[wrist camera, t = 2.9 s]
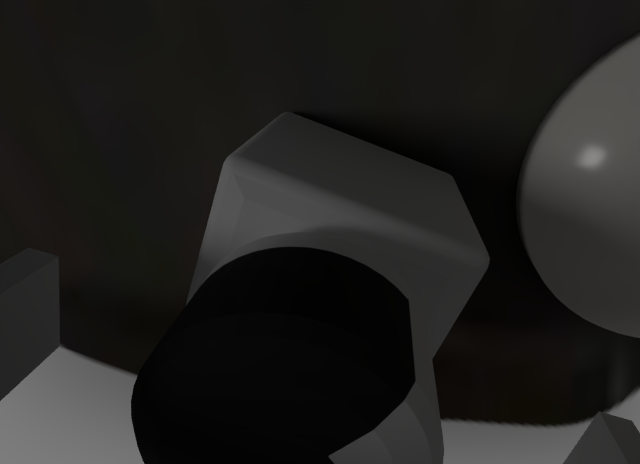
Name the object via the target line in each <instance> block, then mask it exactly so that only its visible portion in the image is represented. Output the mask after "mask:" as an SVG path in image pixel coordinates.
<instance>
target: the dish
mask: <svg viewBox="0 0 640 464" xmlns="http://www.w3.org/2000/svg"><path fill="white" fill-rule="evenodd" d="M516 218H517V225H518V229H519V234H520V238H521V241H522V243H523V246H524V248H525V251H526V253H527V255H528V257H529V259H530V260H531V262H532V264H533V265H534V267H535V269H536V270H537V272H538V274H539V275H540V277H541V278H542V280H543V282H544V283H545V284H546V286H547V287H548V288H549V289H550V290H551V292H552V293H553V294H554V295H555V297H556V298H558V299H559V300H560V301H561V302H562V303H563V304H564V305H565V306H567V307H568V308H569V309H570V310H572V311H573V312H575V313H576V314H578V315H579V316H581V317H582V318H584V319H585V320H587V321H589V322H591V323H594V324H596V325H598V326H600V327H602V328H605V329H608V330H611V331H613V332H616V333H619V334H623V335H628V336H632V337H637V338H640V31H638V32H637V33H635V34H633V35H632V36H630V37H628V38H627V39H625V40H623V41H622V42H620V43H618V44H617V45H615V46H614V47H612V48H611V49H609V50H608V51H607V52H606V53H604V54H603V55H602V56H600V57H599V58H598V59H596V60H595V61H594V62H592V63H591V64H590V65H589V66H588V67H587V68H586V69H585V70H583V71H582V72H581V73H580V74H579V75H578V76H577V77H576V78H575V79H574V80H573V81H572V82H571V83H570V84H569V85H568V86H567V87H566V89H565V90H564V91H563V92H562V93H561V94H560V96H559V97H558V98H557V99H556V100H555V101H554V103H553V104H552V106H551V107H550V109H549V110H548V111H547V113H546V114H545V116H544V117H543V119H542V120H541V122H540V124H539V125H538V127H537V129H536V131H535V133H534V135H533V137H532V139H531V141H530V143H529V145H528V148H527V151H526V153H525V156H524V159H523V161H522V164H521V169H520V173H519V178H518V182H517V191H516Z"/></svg>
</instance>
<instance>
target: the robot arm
mask: <svg viewBox="0 0 640 464" xmlns="http://www.w3.org/2000/svg"><path fill="white" fill-rule="evenodd" d="M59 346H60V334H59V256H55V255H52V254H48V253H45V252H42V251H38V250H35V249H31V248H27V249H25V250H24V251H22V252H20V253H18V254H17V255H15V256H13V257H11V258H10V259H8V260H6V261H4V262H3V263H1V264H0V401H1V400H2V399H3V398H4V397H5V396H6V395H7V394H8V393H9V392H10V391H11V390H13V389H14V388H15V387H16V386H17V385H18V384H19V383H20V382H21V381H22V380H23V379H24V378H25V377H27V376H28V375H29V374H30V373H31V372H32V371H33V370H34V369H35V368H36V367H37V366H38V365H40V364H41V363H42V362H43V361H44V360H45V359H46V358H47V357H48V356H49V355H50V354H51V353H52V352H54V351H55V349H57V348H58V347H59ZM563 464H640V433H639V431H638V430H637V428H636V427H635V425H634V423H633V422H632V421H630V420H627V419H623V418H620V417H616V416H613V415H610V414H606V413H603V412H598V413H597V415H596V416H595V418H594V419H593V421H592V422H591V424H590V425H589V427H588V428H587V430H586V431H585V433H584V434H583V436H582V437H581V438H580V440H579V441H578V443H577V444H576V446H575V447H574V449H573V450H572V452H571V453H570V454H569V456H568V458H567V459H566V460H565V462H564V463H563Z"/></svg>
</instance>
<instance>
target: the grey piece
mask: <svg viewBox="0 0 640 464" xmlns="http://www.w3.org/2000/svg"><path fill="white" fill-rule="evenodd" d="M489 261H490V257H489V255H488V252H487V250H486V248H485V245H484V243H483V241H482V239H481V237H480V235H479V232H478V230H477V228H476V226H475V224H474V222H473V219H472V217H471V215H470V213H469V211H468V209H467V206H466V204H465V202H464V200H463V198H462V196H461V193H460V191H459V189H458V187H457V185H456V183H455V180H454V178H453V177H452V176H451V175H450V174H448V173H446V172H443V171H440V170H438V169H435V168H433V167H430V166H428V165H425V164H422V163H420V162H417V161H415V160H412V159H410V158H407V157H404V156H402V155H399V154H397V153H394V152H392V151H389V150H386V149H384V148H381V147H379V146H376V145H374V144H371V143H368V142H366V141H363V140H361V139H358V138H356V137H353V136H350V135H348V134H345V133H343V132H340V131H338V130H335V129H333V128H330V127H327V126H325V125H322V124H320V123H317V122H315V121H312V120H309V119H307V118H304V117H302V116H299V115H297V114H294V113H291V112H285V113H283V114H281V115H280V116H278V117H277V118H276V119H275V120H273V121H272V122H271V123H270V124H268V125H267V126H266V127H265V128H263V129H262V130H261V131H260V132H258V133H257V134H256V135H255V136H253V137H252V138H251V139H250V140H248V141H247V142H246V143H244V144H243V145H242V146H241V147H239V148H238V149H237V150H236V151H234V152H233V153H232V154H231V155H229V156H228V157H227V158H226V160H225V162H224V163H223V167H222V171H221V175H220V178H219V182H218V186H217V190H216V193H215V197H214V201H213V205H212V209H211V212H210V216H209V220H208V224H207V227H206V231H205V235H204V239H203V242H202V246H201V250H200V254H199V257H198V261H197V265H196V269H195V273H194V276H193V280H192V284H191V288H190V291H189V295H188V299H187V303H186V306H185V308H184V309H183V311H182V312H181V313H180V315H179V316H178V317H177V319H176V320H175V322H174V323H173V324H172V326H171V327H170V328H169V330H168V331H167V333H166V334H165V335H164V337H163V338H162V339H161V341H160V342H159V344H158V345H157V346H156V348H155V349H154V350H153V352H152V353H151V355H150V356H149V357H148V359H147V360H146V362H145V364H144V365H143V367H142V368H141V370H140V371H139V374H138V377H137V379H136V382H135V384H134V388H133V394H132V399H131V411H132V412H131V416H132V422H133V427H134V432H135V437H136V441H137V445H138V448H139V451H140V454H141V456H142V459H143V461H144V463H145V464H443V456H444V446H443V436H442V428H441V421H440V413H439V406H438V399H437V392H436V385H435V378H434V371H433V364H432V358H433V357H434V355H435V354H436V352H437V350H438V349H439V347H440V345H441V344H442V342H443V340H444V339H445V337H446V336H447V334H448V332H449V331H450V329H451V327H452V326H453V324H454V322H455V321H456V319H457V318H458V316H459V314H460V313H461V311H462V309H463V308H464V306H465V304H466V303H467V301H468V300H469V298H470V296H471V295H472V293H473V291H474V290H475V288H476V286H477V285H478V283H479V282H480V280H481V278H482V277H483V275H484V273H485V272H486V270H487V269H488V265H489Z"/></svg>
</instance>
